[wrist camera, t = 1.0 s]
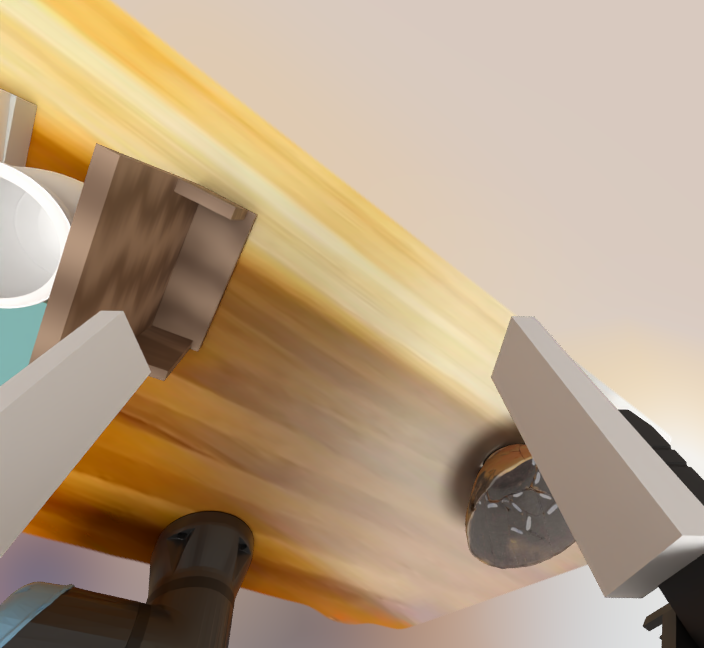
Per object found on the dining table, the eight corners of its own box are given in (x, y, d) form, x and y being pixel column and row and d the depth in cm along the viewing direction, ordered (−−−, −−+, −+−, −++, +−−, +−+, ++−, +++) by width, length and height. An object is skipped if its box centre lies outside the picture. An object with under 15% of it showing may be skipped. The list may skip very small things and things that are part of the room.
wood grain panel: (200, 347, 42) (127, 449, 23) (142, 326, 40) (11, 420, 21) (257, 214, 38) (225, 208, 20) (197, 183, 36) (96, 143, 17)
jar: (101, 160, 34) (-32, 117, 20) (176, 240, 38) (108, 251, 23) (28, 221, 34) (-154, 221, 20) (108, 294, 38) (2, 337, 24)
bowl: (417, 507, 58) (441, 562, 49) (481, 395, 53) (522, 432, 44) (518, 527, 66) (556, 578, 56) (584, 430, 60) (638, 469, 51)
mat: (107, 422, 43) (103, 426, 42) (-19, 388, 39) (-25, 391, 38) (140, 333, 40) (138, 336, 39) (9, 286, 36) (3, 288, 35)
